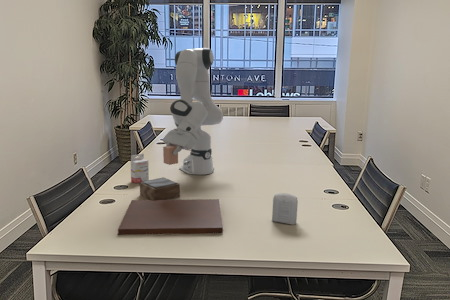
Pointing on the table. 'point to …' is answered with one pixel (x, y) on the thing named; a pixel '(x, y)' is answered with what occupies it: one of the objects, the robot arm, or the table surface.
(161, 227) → the brown wooden board
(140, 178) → the ink cartridge box
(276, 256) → the table surface
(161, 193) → the walnut pedestal
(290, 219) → the grey tombstone
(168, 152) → the terracotta block
